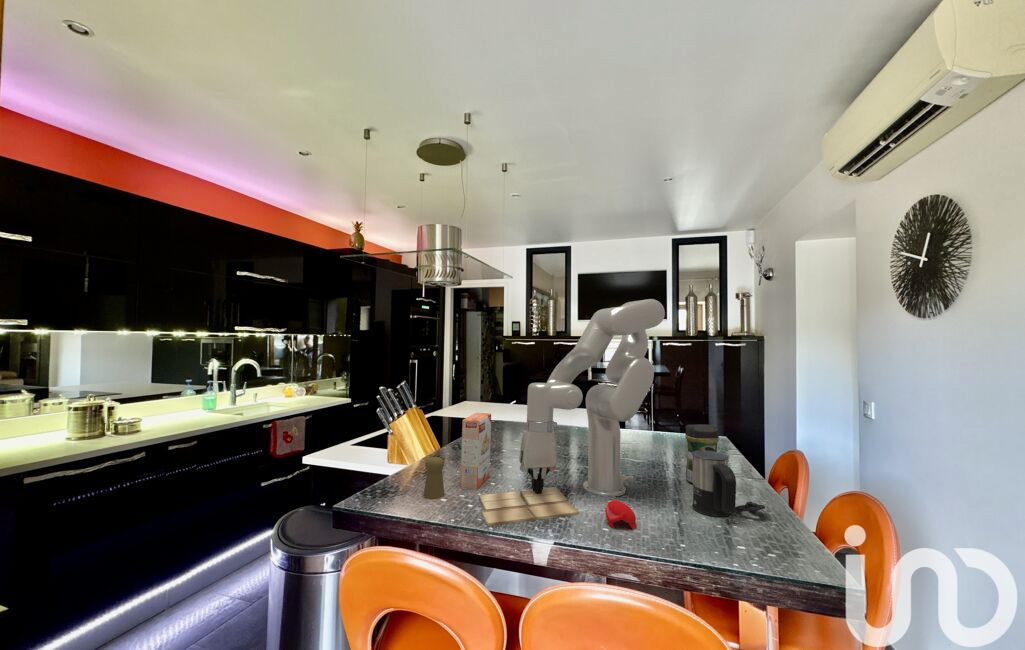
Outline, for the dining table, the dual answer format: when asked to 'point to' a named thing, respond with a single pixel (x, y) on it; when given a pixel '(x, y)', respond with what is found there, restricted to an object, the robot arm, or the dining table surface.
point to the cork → (434, 478)
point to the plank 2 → (542, 496)
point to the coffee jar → (699, 443)
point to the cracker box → (475, 450)
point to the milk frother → (716, 485)
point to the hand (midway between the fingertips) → (537, 491)
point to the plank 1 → (501, 500)
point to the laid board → (528, 513)
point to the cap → (619, 513)
